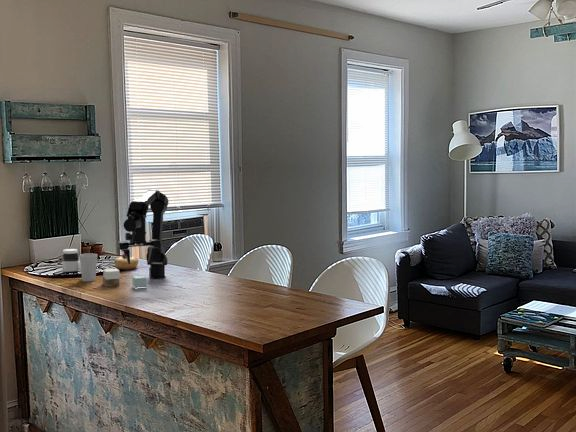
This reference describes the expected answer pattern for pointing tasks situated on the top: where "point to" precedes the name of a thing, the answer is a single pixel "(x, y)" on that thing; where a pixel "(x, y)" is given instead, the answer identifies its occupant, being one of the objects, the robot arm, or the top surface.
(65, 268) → the spread jar
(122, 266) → the pastry
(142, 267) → the top surface
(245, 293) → the top surface
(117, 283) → the walnut slab
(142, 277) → the painted cube
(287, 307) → the top surface
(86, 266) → the cup
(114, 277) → the cream slab
